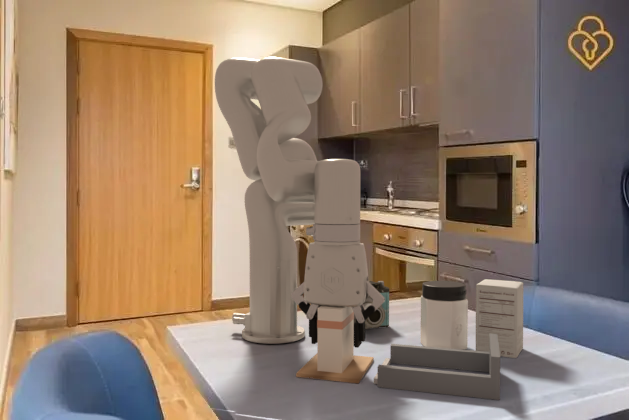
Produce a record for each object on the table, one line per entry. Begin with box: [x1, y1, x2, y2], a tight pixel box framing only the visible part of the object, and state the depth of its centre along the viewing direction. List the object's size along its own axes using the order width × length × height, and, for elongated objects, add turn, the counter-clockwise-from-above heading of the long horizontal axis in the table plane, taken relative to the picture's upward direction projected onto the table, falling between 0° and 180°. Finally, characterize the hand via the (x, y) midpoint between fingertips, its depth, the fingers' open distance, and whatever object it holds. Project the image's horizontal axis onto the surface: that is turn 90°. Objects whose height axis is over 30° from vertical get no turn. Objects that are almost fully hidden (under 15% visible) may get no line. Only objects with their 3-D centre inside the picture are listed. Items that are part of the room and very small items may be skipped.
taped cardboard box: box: [316, 305, 355, 373], centre depth 89 cm, size 4×8×10 cm, turn 163°
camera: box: [321, 280, 390, 330], centre depth 114 cm, size 16×10×10 cm, turn 108°
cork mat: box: [295, 352, 375, 384], centre depth 89 cm, size 10×12×1 cm
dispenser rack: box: [373, 334, 501, 401], centre depth 84 cm, size 18×13×6 cm
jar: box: [420, 280, 469, 350], centre depth 102 cm, size 9×8×12 cm
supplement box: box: [475, 278, 524, 359], centre depth 100 cm, size 7×7×13 cm
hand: (336, 342), depth 89 cm, fingers open, 6 cm apart
